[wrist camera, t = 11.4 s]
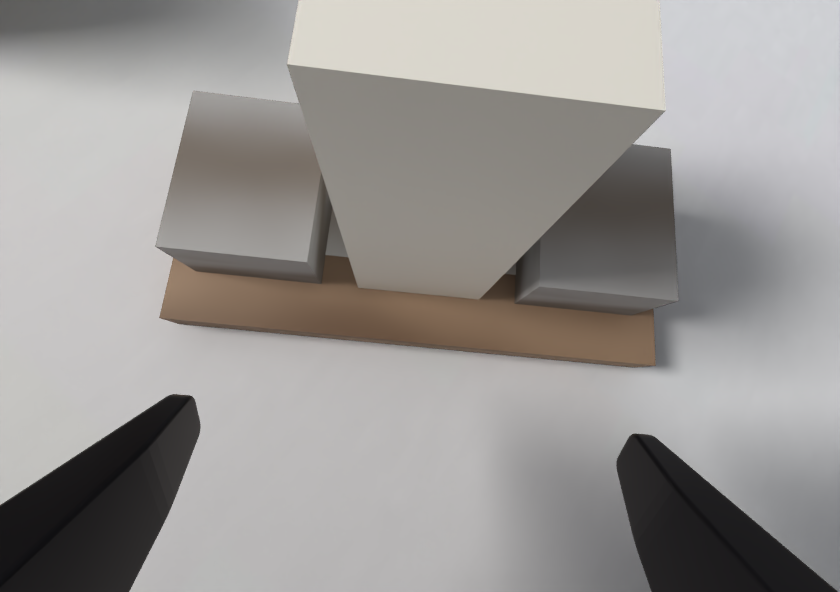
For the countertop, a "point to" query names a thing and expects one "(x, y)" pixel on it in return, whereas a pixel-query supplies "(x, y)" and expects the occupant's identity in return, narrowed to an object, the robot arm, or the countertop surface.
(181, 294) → the rail board
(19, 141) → the countertop surface
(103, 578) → the robot arm
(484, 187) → the block
